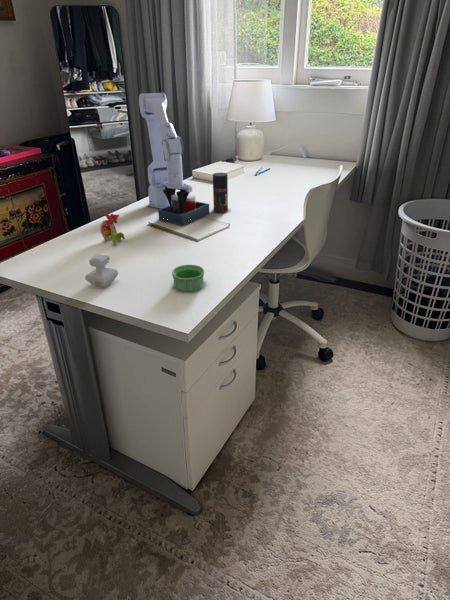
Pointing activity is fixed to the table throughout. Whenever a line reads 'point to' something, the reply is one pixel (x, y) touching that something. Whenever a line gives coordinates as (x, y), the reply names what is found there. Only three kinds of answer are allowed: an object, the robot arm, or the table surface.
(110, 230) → the bird rattle
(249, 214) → the table surface
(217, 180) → the deodorant
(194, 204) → the salt shaker
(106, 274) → the stamp
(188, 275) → the ramekin
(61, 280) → the table surface
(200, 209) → the bin
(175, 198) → the pepper shaker
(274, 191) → the table surface
